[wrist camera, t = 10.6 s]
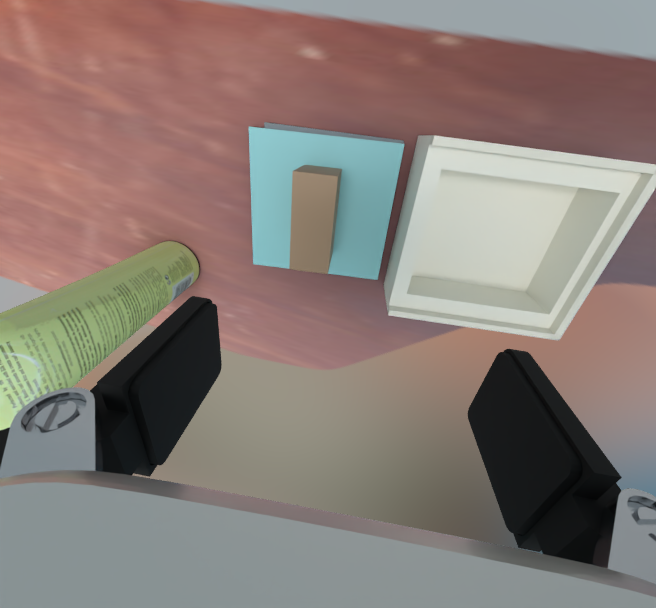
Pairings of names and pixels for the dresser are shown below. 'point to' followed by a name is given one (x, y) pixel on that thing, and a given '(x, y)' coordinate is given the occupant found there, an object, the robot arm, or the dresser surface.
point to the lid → (321, 201)
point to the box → (508, 233)
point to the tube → (85, 323)
